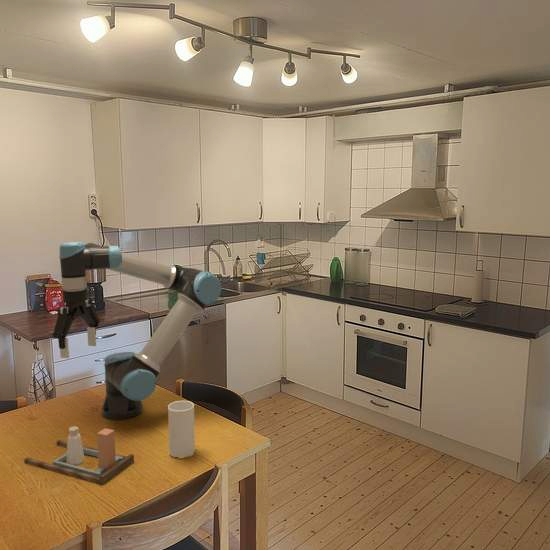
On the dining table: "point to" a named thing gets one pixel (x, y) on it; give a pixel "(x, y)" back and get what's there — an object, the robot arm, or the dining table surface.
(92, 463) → the dining table surface
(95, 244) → the robot arm
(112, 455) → the frame
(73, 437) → the salt shaker
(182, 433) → the cup
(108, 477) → the track
